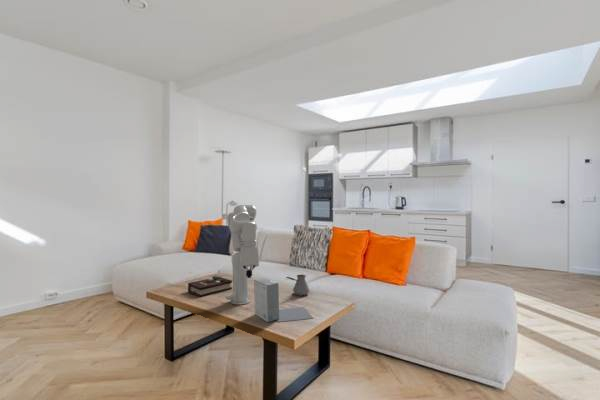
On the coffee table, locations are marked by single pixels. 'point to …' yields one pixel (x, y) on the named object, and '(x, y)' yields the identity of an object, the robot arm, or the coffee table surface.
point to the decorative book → (209, 286)
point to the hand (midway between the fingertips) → (249, 277)
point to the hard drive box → (266, 299)
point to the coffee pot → (300, 285)
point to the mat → (293, 314)
